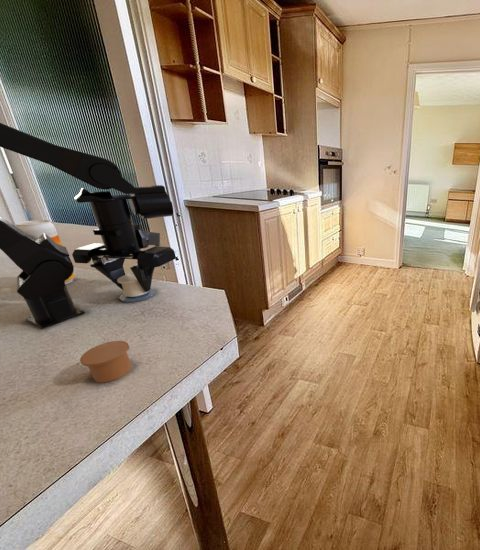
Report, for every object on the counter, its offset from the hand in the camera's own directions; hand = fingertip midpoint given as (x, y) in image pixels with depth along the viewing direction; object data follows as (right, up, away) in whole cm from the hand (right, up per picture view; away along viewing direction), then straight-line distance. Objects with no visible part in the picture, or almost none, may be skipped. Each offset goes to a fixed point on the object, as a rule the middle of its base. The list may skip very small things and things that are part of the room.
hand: (136, 290), depth 65 cm
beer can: (-24, +1, +6) cm, 24 cm away
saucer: (0, -1, +1) cm, 1 cm away
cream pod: (0, 0, 0) cm, 0 cm away
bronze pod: (+14, -11, -22) cm, 28 cm away
